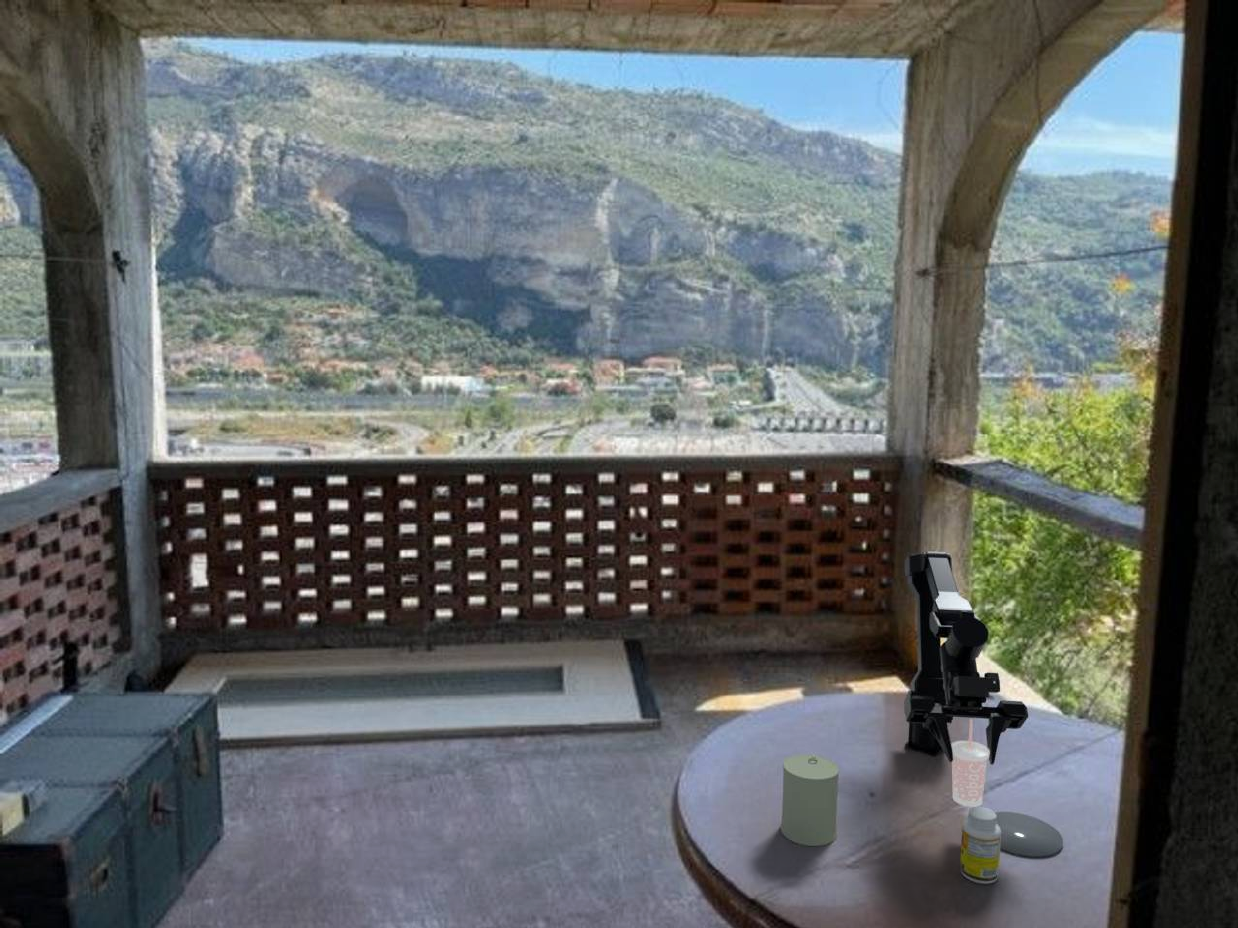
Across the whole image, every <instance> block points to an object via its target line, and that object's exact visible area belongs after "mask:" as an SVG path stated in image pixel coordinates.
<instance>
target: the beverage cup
mask: <svg viewBox="0 0 1238 928" xmlns="http://www.w3.org/2000/svg"><path fill="white" fill-rule="evenodd" d="M973 723H974V718H969V729H968V731H969V733H968V740H955V741H953V742H951V746H952V752H953V761H952V762H951V770H952V772H951V776H952V781H951V782H952V784H951V785H952V799H953V801H954V802H955V803H957V804H958V805H961V806H964V807H969V808H972V807H981V805H982V804H983V798H984V789H985V783H986V782H985V781H986V774H987V766H988V760H989V754H990V750H989V749H988V747H987V746H986V745H985V744H983V743H981V742H980V743H979V742H977V741H973V726H974V725H973Z"/></svg>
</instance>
